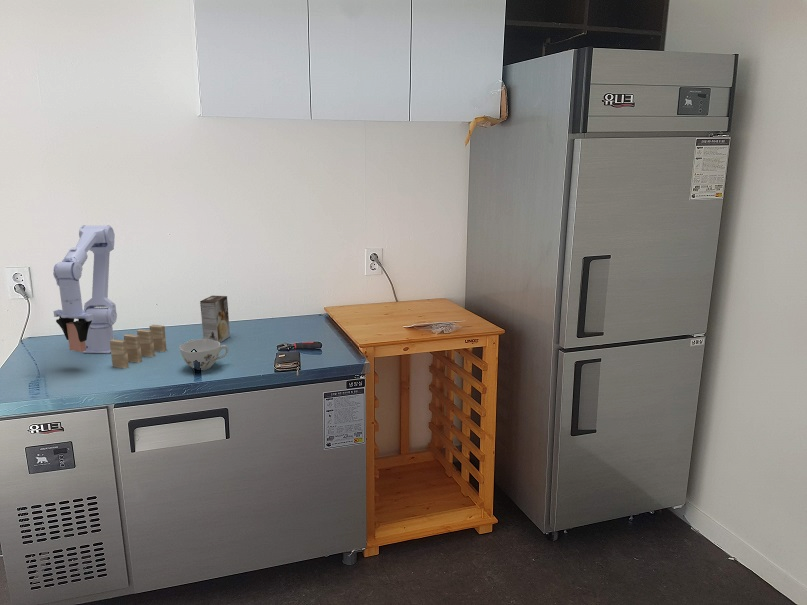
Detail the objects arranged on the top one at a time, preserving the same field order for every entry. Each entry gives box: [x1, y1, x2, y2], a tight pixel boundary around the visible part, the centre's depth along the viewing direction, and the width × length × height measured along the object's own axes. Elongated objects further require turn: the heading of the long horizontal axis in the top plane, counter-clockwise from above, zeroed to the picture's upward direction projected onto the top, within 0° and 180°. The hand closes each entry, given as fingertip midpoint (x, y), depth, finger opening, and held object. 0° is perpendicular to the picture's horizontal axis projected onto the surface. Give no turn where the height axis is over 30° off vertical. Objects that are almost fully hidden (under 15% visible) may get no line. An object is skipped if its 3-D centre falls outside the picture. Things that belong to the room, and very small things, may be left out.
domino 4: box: [149, 324, 168, 353], centre depth 219 cm, size 2×5×9 cm, turn 70°
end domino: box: [66, 322, 86, 353], centre depth 200 cm, size 2×5×9 cm, turn 70°
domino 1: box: [110, 338, 130, 370], centre depth 203 cm, size 2×5×9 cm, turn 70°
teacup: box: [179, 338, 229, 371], centre depth 203 cm, size 15×12×8 cm
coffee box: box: [199, 295, 231, 344], centre depth 231 cm, size 9×6×16 cm
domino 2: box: [123, 333, 143, 364], centre depth 209 cm, size 2×5×9 cm, turn 69°
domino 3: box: [136, 328, 156, 358], centre depth 214 cm, size 2×5×9 cm, turn 70°
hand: (76, 340), depth 200 cm, fingers closed on end domino, 5 cm apart
